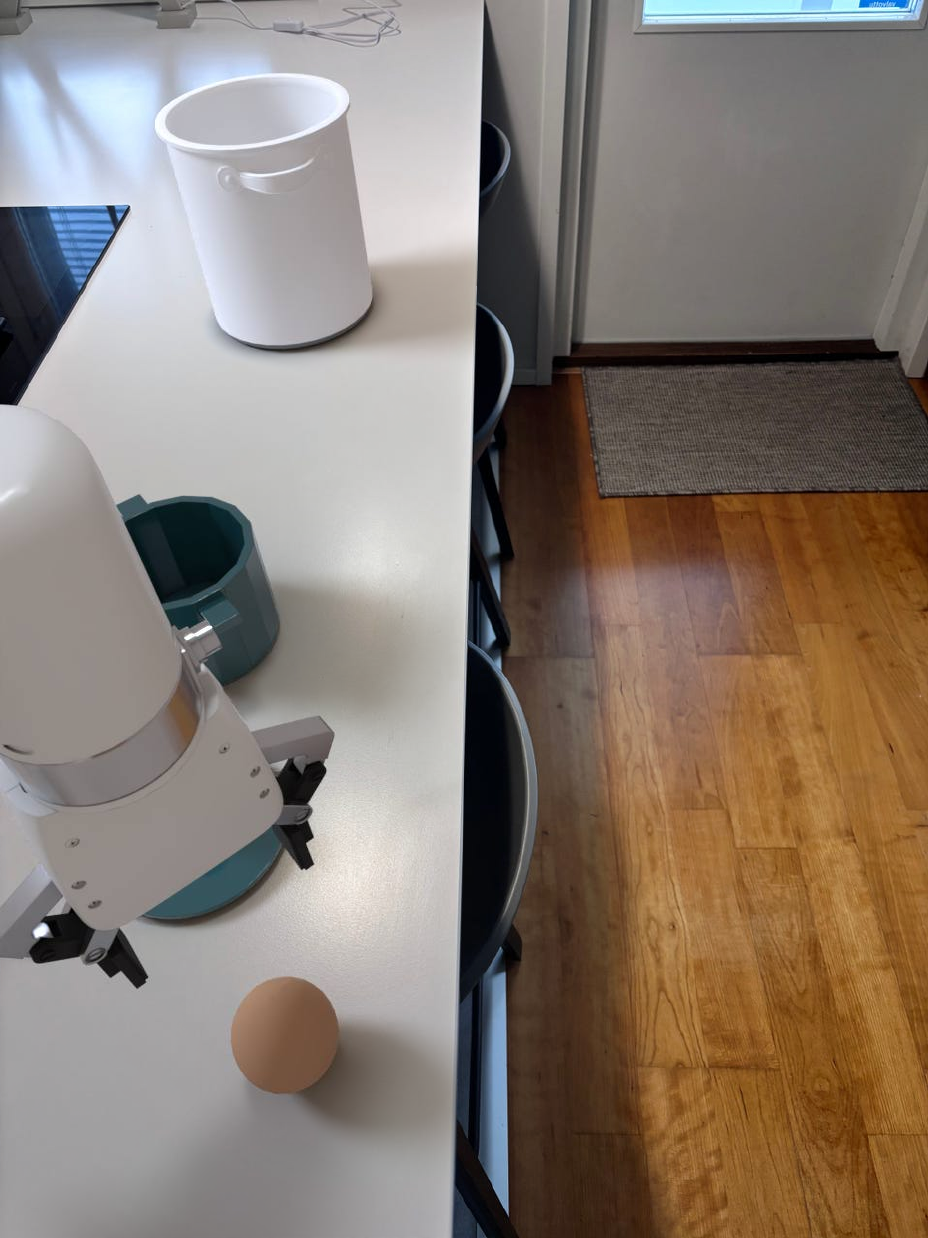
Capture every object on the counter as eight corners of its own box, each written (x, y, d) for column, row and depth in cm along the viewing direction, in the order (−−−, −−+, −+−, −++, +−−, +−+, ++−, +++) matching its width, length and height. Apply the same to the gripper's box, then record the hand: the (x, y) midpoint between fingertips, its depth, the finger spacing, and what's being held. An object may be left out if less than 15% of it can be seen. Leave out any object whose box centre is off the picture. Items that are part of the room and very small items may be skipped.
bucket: (407, 336, 117) (381, 127, 99) (235, 382, 113) (175, 173, 95) (347, 247, 133) (315, 54, 115) (195, 285, 129) (137, 90, 111)
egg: (227, 1071, 61) (191, 1026, 55) (292, 985, 64) (265, 934, 58) (303, 1131, 58) (275, 1091, 52) (367, 1039, 62) (347, 991, 55)
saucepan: (183, 739, 78) (143, 659, 71) (94, 610, 89) (50, 528, 81) (322, 657, 83) (299, 573, 76) (222, 544, 94) (193, 460, 86)
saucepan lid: (147, 964, 66) (115, 924, 61) (69, 820, 74) (35, 774, 69) (325, 844, 71) (309, 797, 66) (234, 721, 79) (214, 672, 74)
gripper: (246, 553, 42) (317, 765, 55) (-156, 771, 36) (31, 953, 48) (337, 651, 38) (392, 856, 51) (-99, 918, 31) (90, 1075, 44)
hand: (215, 904), depth 49 cm, fingers open, 9 cm apart
